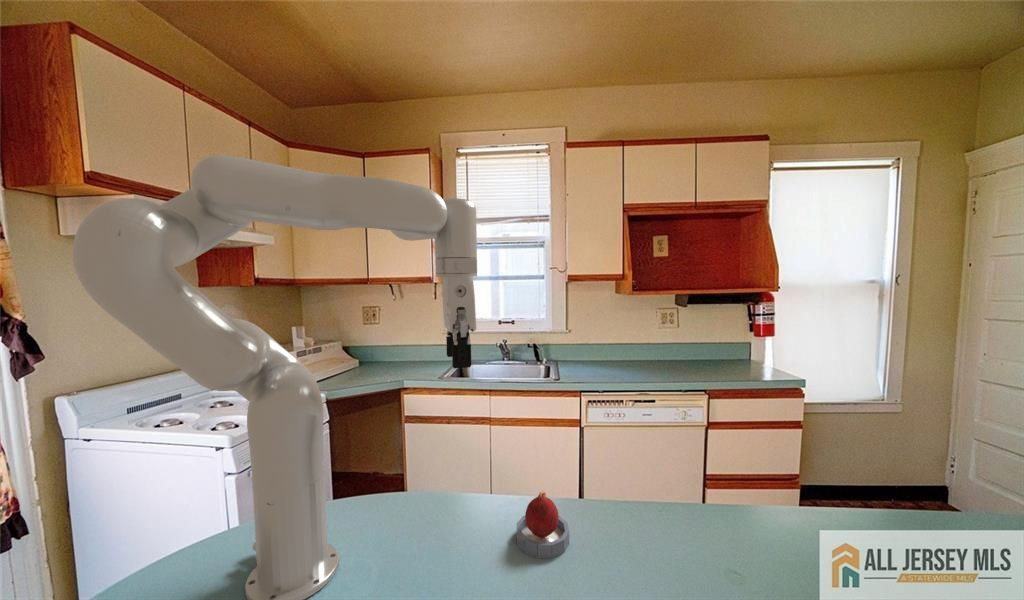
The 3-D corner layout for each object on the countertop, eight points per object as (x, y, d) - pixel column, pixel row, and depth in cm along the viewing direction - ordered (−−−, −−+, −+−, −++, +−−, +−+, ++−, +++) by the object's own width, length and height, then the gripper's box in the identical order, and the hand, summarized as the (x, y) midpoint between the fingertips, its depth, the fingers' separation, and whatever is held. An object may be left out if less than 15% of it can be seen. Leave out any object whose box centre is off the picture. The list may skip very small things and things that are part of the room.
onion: (557, 550, 65) (557, 504, 65) (523, 546, 66) (522, 500, 66) (559, 528, 71) (559, 485, 70) (528, 524, 72) (527, 482, 71)
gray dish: (507, 546, 67) (507, 534, 67) (531, 518, 75) (531, 506, 75) (555, 565, 63) (555, 552, 63) (576, 532, 71) (576, 521, 70)
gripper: (486, 267, 65) (487, 371, 66) (469, 269, 81) (470, 351, 82) (439, 268, 63) (441, 374, 64) (432, 269, 79) (434, 353, 80)
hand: (458, 361), depth 73 cm, fingers open, 9 cm apart
